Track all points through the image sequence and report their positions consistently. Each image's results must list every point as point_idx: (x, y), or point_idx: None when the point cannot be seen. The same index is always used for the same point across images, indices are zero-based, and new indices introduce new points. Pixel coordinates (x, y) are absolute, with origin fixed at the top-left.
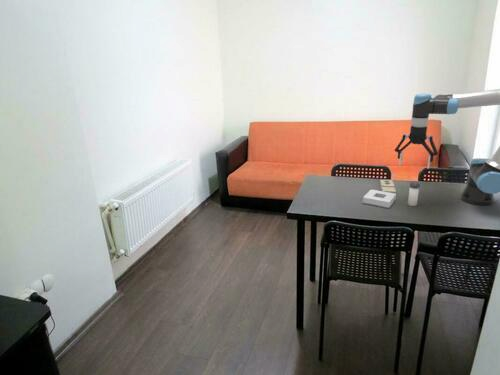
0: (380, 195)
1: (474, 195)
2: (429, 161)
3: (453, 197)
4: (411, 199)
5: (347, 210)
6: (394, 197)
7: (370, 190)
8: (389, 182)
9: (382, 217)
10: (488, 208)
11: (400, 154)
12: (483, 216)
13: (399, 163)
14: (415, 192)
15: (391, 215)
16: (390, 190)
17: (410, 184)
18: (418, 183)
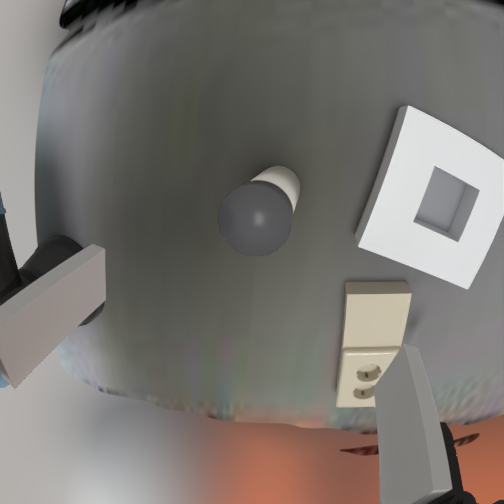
0: (436, 230)
1: (53, 257)
2: (33, 284)
3: (122, 294)
4: (283, 172)
5: None
6: (371, 207)
7: (473, 274)
8: (356, 384)
9: (420, 10)
10: (45, 215)
11: (444, 472)
12: (54, 141)
13: (419, 362)
14: (258, 178)
15: (385, 30)
16: (373, 306)
17: (289, 209)
18: (228, 223)
